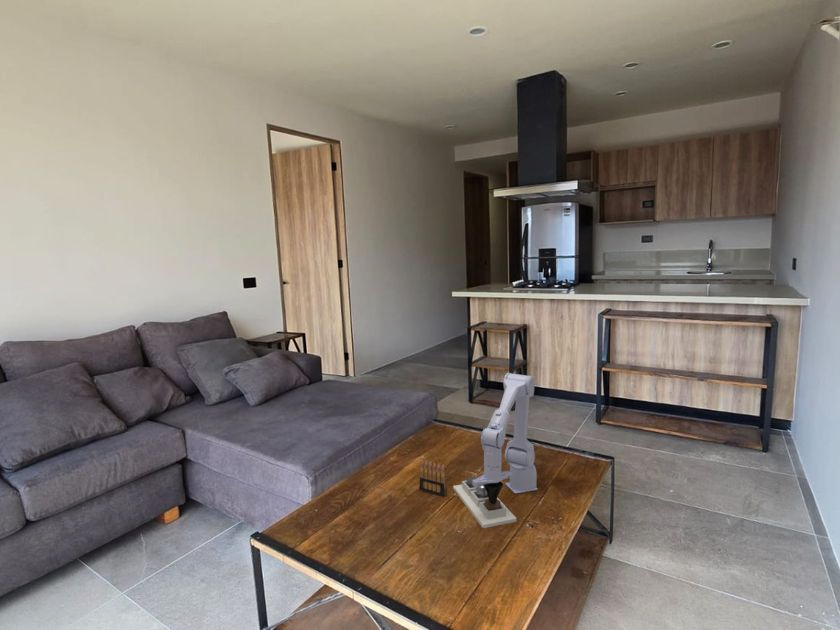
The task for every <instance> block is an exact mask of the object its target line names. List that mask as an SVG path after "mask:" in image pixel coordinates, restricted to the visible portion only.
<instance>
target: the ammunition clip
mask: <svg viewBox="0 0 840 630" xmlns="http://www.w3.org/2000/svg"><path fill="white" fill-rule="evenodd" d="M445 470H446V469H445V464H442V465H441V464H440V463H437V464H436V462H435V461H434V462H433V465H432V461H429V463H428V460H426V459H425V462H424V460H423V459H421V461H420V470H419V472H420V473H419V475H420V476H419V485H418V486H419V491H421V490H422V491H421V492H424V491H425V493H428V492H429V493H428V494H431V493H432V495H436V496H439V497H443V498H445V497H446V496H447V481H446V471H445Z"/></svg>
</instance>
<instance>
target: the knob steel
mask: <svg viewBox="0 0 840 630" xmlns="http://www.w3.org/2000/svg"><path fill="white" fill-rule="evenodd" d="M476 495H477V496H478V497H479V498H487V497H488V494H487V491H486V489H485V487H484V485H481V486H478V488H476Z"/></svg>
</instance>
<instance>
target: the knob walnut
mask: <svg viewBox="0 0 840 630" xmlns="http://www.w3.org/2000/svg"><path fill="white" fill-rule="evenodd" d="M498 499H499V498H498ZM498 499H497V501H496V503H495V504H492V503H490V502H489V499H486V500H485V505H486V508H487V509H488V510H489V511H492V510H497V509H499V507H500V501H501V500H500V499H499V500H500V501H499V500H498Z"/></svg>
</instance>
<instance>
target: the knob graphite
mask: <svg viewBox="0 0 840 630" xmlns="http://www.w3.org/2000/svg"><path fill="white" fill-rule="evenodd" d="M477 478H478V477H475V476H471V477H468V478H466V480H467V484H468V486H469V488H474V486H473V480H474V479H477Z"/></svg>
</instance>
